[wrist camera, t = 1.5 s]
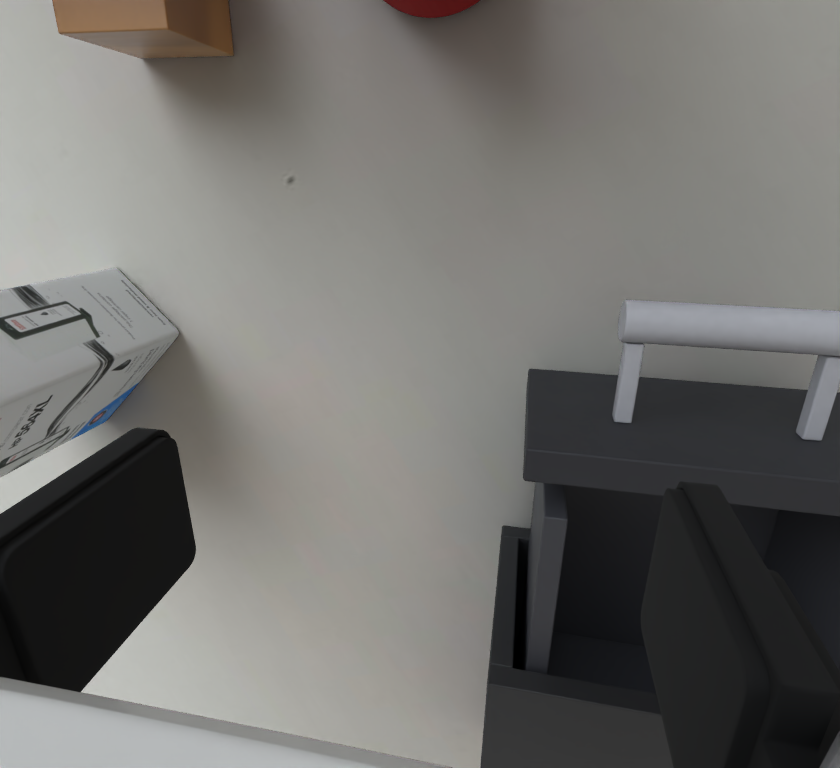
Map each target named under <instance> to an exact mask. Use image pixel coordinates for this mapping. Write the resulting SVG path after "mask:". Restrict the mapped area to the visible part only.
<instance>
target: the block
mask: <svg viewBox="0 0 840 768" xmlns="http://www.w3.org/2000/svg"><path fill="white" fill-rule="evenodd" d="M52 1H53V6H54V11H55V17H56V22H57V27H58V32H59V33H60V34H62V35H65V36H69V37H72V38H75V39H79V40H82V41H85V42H89V43H92V44H95V45H99V46H102V47H105V48H108V49H112V50H115V51H118V52H122V53H125V54H128V55H132V56H135V57H138V58H172V57H210V56H233V55H234V53H233V43H232V32H231V22H230V12H229V1H228V0H52Z"/></svg>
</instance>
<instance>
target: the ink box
mask: <svg viewBox="0 0 840 768" xmlns="http://www.w3.org/2000/svg"><path fill="white" fill-rule="evenodd" d="M178 335H179V331H178V330H177V328H176V327H175V326H174V325H172V324H171V323H170V321H169V320H168V319H167V318H166V317H165V316H164V315H163V314H162V313H161V312H160V311H159V310H158V309H157V308H156V307H155V306H154V305H153V304H152V303H151V302H150V301H149V300H148V299H147V298H146V297H145V296H144V295H143V294H142V293H141V292H140V291H139V290H138V289H137V288H136V287H135V286H134V285H133V284H132V283H131V282H130V281H129V280H128V279H127V278H126V277H125V276H124V275H123V274H122V273H121V271H120V270H119V269H117V268H110V269H105V270H101V271H96V272H91V273H86V274H81V275H76V276H70V277H65V278H60V279H55V280H50V281H45V282H40V283H35V284H30V285H25V286H20V287H15V288H10V289H4V290H0V477H2V476H4V475H6V474H8V473H10V472H11V471H13V470H15V469H17V468H19V467H21V466H22V465H24V464H26V463H28V462H30V461H32V460H34V459H36V458H37V457H39V456H41V455H43V454H45V453H47V452H49V451H50V450H52V449H54V448H56V447H58V446H60V445H62V444H64V443H66V442H67V441H69V440H71V439H73V438H75V437H77V436H79V435H81V434H83V433H85V432H87V431H89V430H90V429H92V428H94V427H96V426H98V425H100V424H102V423H104V422H106V421H107V420H108V418H109V417H110V416H111V415H112V414H113V413H114V411H115V410H116V409H117V408H118V407H119V406H120V404H121V403H122V402H123V401H124V400H125V399H126V397H127V396H128V395H129V394H130V393H131V391H132V390H133V389H134V388H135V387H136V386H137V384H138V383H139V382H140V381H141V380H142V378H143V377H144V376H145V375H146V373H147V372H148V371H149V370H150V369H151V368H152V367H153V365H154V364H155V363H156V362H157V361H158V360H159V358H160V357H161V356H162V355H163V354H164V353H165V351H166V350H167V349H168V348H169V347H170V346H171V344H172V343H173V342H174V341H175V339H176V338H177V337H178Z"/></svg>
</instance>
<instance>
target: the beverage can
mask: <svg viewBox="0 0 840 768" xmlns="http://www.w3.org/2000/svg"><path fill="white" fill-rule="evenodd" d="M384 1H385V2H386V3H388V4H389V5H391V6H392V7H394V8H395V9H397V10H399V11H401V12H404V13H406V14H409V15H413V16H418V17H425V18H437V17H444V16H449V15H452V14H455V13H459V12H461V11H463V10H465V9H467V8H469V7H471V6H473V5H474V4H476V3H477V2H479V1H480V0H384Z"/></svg>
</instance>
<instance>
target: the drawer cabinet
mask: <svg viewBox="0 0 840 768" xmlns="http://www.w3.org/2000/svg"><path fill="white" fill-rule="evenodd" d="M529 538H530V529H525V528H518V527H510V526H503V527H502V534H501V544H500V555H499V566H498V576H497V587H496V597H495V608H494V618H493V629H492V639H491V650H490V661H489V671H488V682H487V694H486V706H485V718H484V731H483V743H482V755H481V768H674V767H673V763H672V758H671V754H670V750H669V746H668V741H667V737H666V733H665V729H664V724H663V720H662V716H661V712H660V707H659V703H658V699H657V695H656V693H651V692H645V691H639V690H634V689H628V688H622V687H616V686H611V685H605V684H599V683H594V682H588V681H582V680H577V679H571V678H565V677H559V676H554V675H548V674H542V673H537V672H531V671H525V670H520V669H519V648H520V624H521V614H522V605H523V595H524V586H525V576H526V567H527V557H528V548H529Z"/></svg>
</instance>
